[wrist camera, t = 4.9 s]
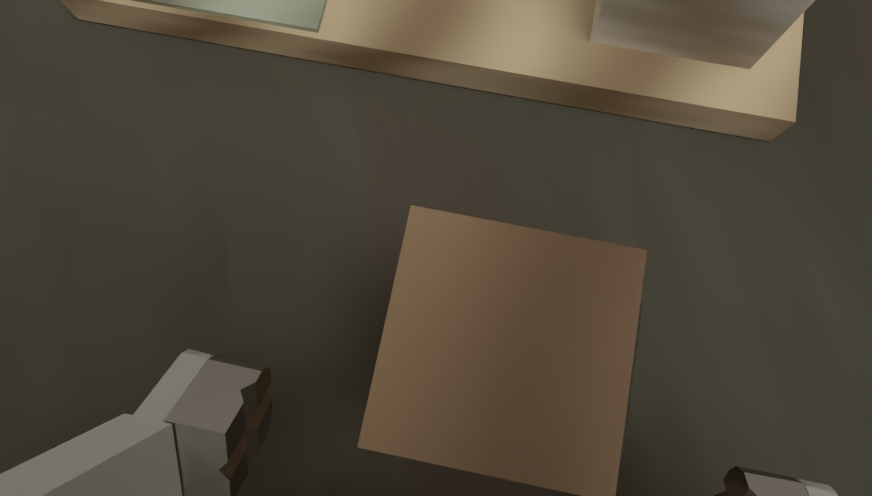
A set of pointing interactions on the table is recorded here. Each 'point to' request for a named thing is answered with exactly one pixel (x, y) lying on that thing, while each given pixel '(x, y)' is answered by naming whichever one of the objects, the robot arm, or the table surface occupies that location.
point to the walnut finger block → (508, 353)
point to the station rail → (528, 48)
